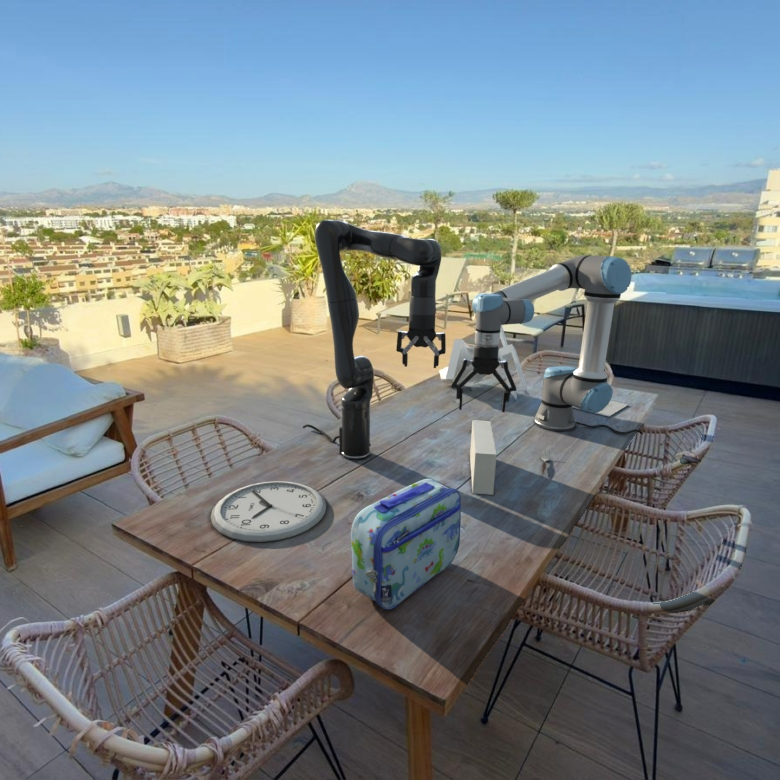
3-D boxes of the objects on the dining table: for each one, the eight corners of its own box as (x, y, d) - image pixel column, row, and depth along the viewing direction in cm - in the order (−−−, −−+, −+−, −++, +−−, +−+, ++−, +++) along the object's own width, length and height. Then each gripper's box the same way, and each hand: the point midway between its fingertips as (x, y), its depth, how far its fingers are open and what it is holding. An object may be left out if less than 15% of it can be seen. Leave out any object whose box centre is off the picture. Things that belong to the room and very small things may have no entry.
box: (470, 455, 176) (472, 420, 172) (487, 456, 175) (490, 421, 171) (472, 493, 151) (475, 453, 147) (493, 494, 150) (496, 454, 146)
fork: (538, 474, 162) (538, 468, 162) (542, 454, 177) (542, 449, 176) (546, 475, 162) (547, 470, 161) (550, 455, 176) (550, 450, 175)
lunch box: (380, 623, 100) (381, 528, 94) (344, 596, 108) (343, 505, 101) (464, 565, 118) (470, 482, 112) (428, 545, 125) (432, 466, 119)
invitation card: (608, 416, 214) (573, 407, 224) (608, 416, 214) (573, 408, 224) (628, 404, 229) (594, 396, 238) (628, 405, 229) (594, 397, 238)
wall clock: (324, 533, 126) (196, 538, 124) (324, 539, 127) (197, 544, 124) (327, 477, 155) (224, 479, 152) (327, 482, 155) (224, 484, 153)
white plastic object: (461, 429, 252) (437, 405, 227) (444, 352, 274) (420, 323, 250) (535, 404, 240) (518, 377, 215) (510, 326, 262) (492, 293, 237)
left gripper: (396, 312, 146) (395, 368, 151) (447, 314, 145) (444, 371, 149) (398, 309, 153) (397, 362, 158) (447, 310, 152) (444, 364, 157)
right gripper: (445, 345, 159) (442, 411, 166) (529, 349, 156) (522, 416, 163) (446, 340, 166) (443, 403, 173) (526, 344, 163) (520, 408, 170)
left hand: (420, 366), depth 154 cm, fingers open, 8 cm apart
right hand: (481, 409), depth 168 cm, fingers open, 13 cm apart
